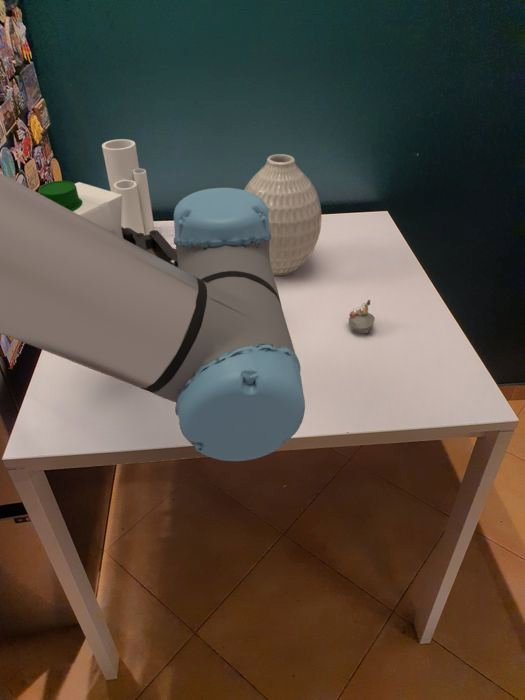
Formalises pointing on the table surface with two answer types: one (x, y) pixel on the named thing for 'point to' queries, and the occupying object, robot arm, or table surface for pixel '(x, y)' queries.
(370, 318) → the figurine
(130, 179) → the vase
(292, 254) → the vase
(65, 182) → the soya milk
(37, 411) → the table surface
